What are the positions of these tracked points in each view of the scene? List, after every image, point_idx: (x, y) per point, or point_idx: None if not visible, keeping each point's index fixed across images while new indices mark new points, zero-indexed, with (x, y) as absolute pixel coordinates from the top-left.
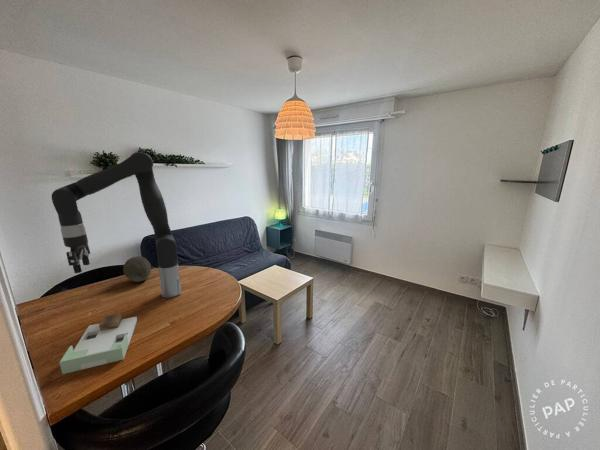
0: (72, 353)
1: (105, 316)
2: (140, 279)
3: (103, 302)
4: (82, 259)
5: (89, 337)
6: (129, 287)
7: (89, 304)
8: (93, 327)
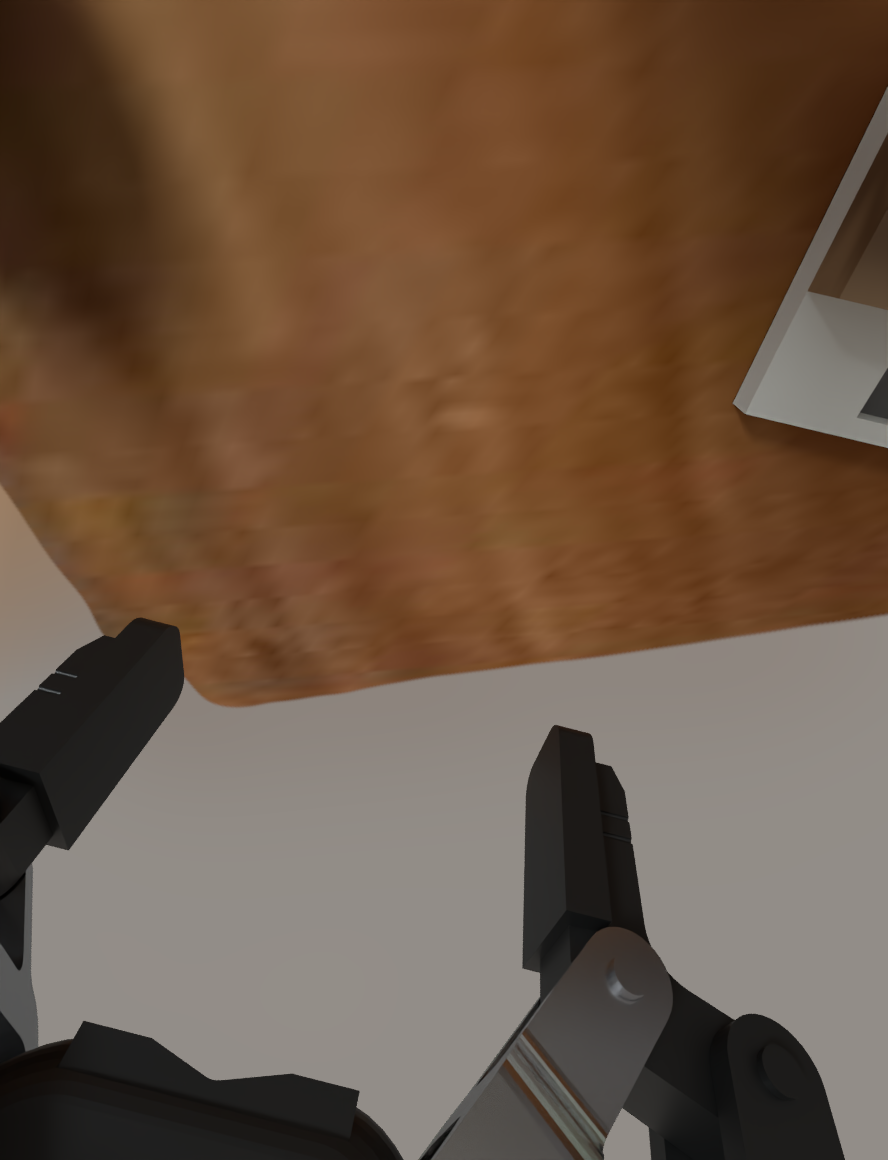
0: None
1: (856, 283)
2: None
3: (318, 331)
4: (94, 806)
5: (869, 398)
6: (55, 71)
7: (308, 431)
8: (812, 380)
